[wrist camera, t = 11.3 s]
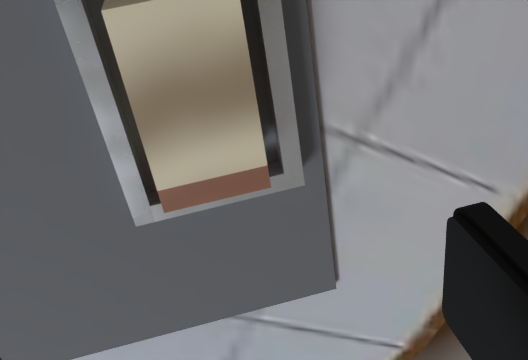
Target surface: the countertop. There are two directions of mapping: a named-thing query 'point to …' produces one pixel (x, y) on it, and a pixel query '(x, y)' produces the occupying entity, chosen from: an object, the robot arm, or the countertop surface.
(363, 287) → the countertop surface
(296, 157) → the metal frame
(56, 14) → the rubber mat
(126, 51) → the maple block
